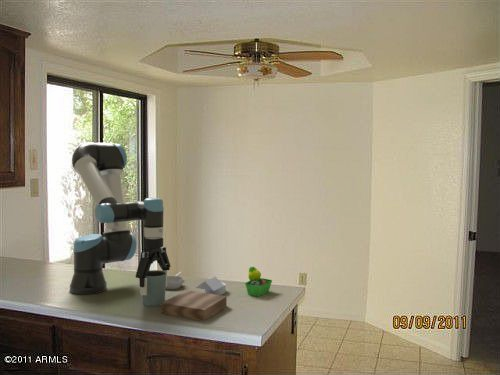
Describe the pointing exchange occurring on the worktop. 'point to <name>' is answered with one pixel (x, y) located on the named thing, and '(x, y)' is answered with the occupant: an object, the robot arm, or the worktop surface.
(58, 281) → the worktop surface
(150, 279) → the grey cup
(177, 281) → the small pan
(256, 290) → the fruit basket
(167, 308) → the walnut stand
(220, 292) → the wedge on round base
